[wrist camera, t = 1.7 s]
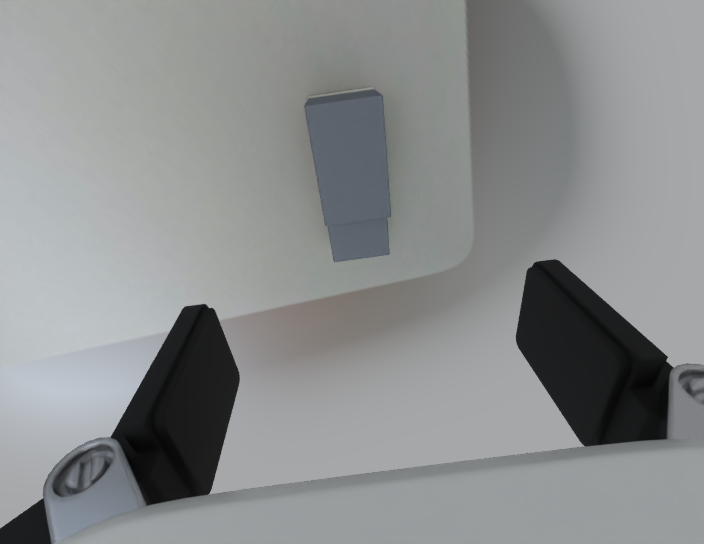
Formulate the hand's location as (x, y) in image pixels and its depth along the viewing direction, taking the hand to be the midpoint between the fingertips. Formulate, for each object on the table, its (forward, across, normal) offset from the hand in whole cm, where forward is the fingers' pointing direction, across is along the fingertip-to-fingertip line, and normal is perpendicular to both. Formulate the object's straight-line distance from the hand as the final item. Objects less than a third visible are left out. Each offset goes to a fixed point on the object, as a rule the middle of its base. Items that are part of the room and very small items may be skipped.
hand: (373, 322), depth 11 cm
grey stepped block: (+18, 0, +1) cm, 18 cm away
